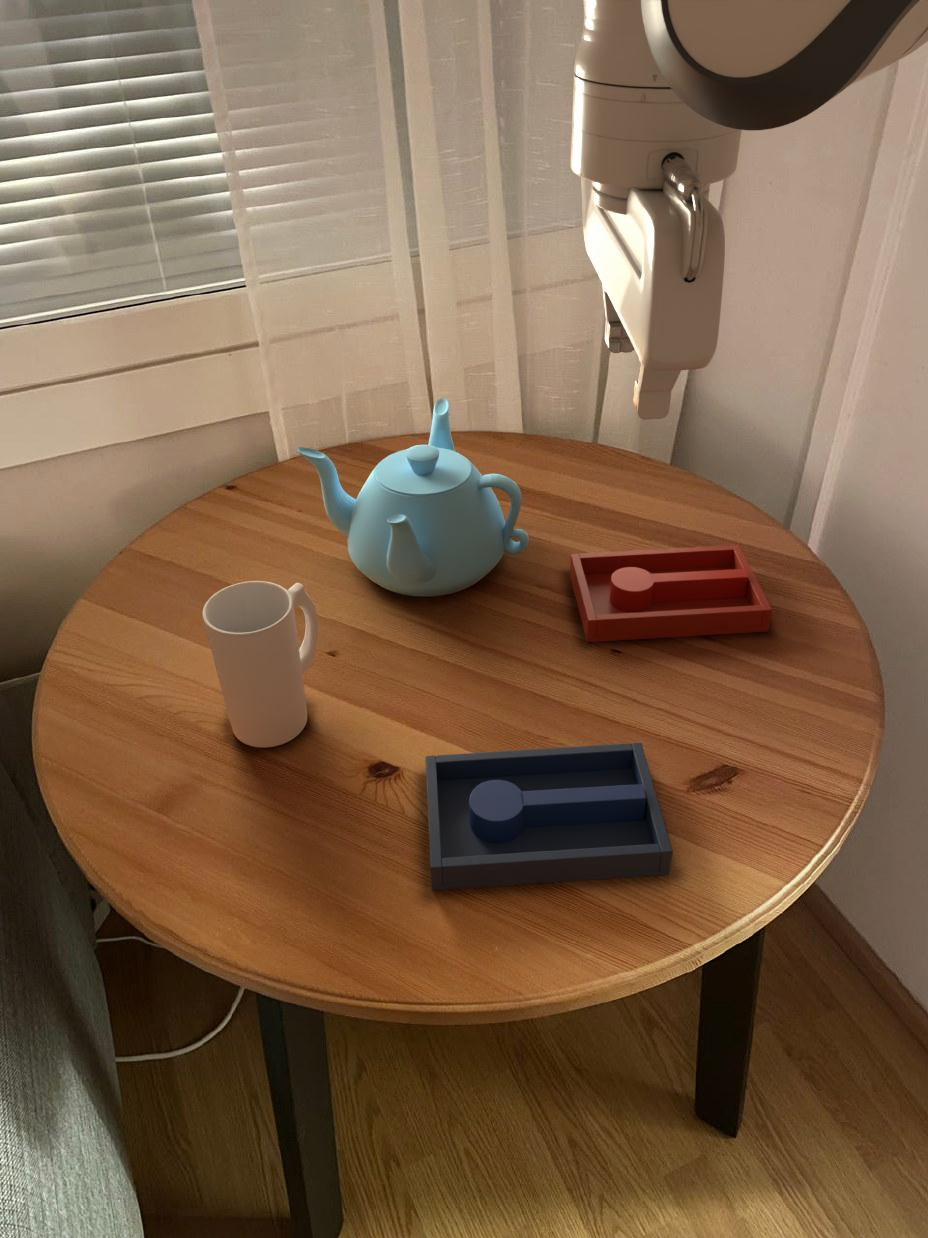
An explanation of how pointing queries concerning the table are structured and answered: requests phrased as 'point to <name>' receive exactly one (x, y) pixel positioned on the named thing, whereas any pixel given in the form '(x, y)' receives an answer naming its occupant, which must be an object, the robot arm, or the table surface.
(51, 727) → the table surface
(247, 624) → the mug
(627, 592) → the red spoon
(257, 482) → the table surface
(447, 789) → the blue tray
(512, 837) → the blue spoon
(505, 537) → the teapot
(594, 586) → the red tray
